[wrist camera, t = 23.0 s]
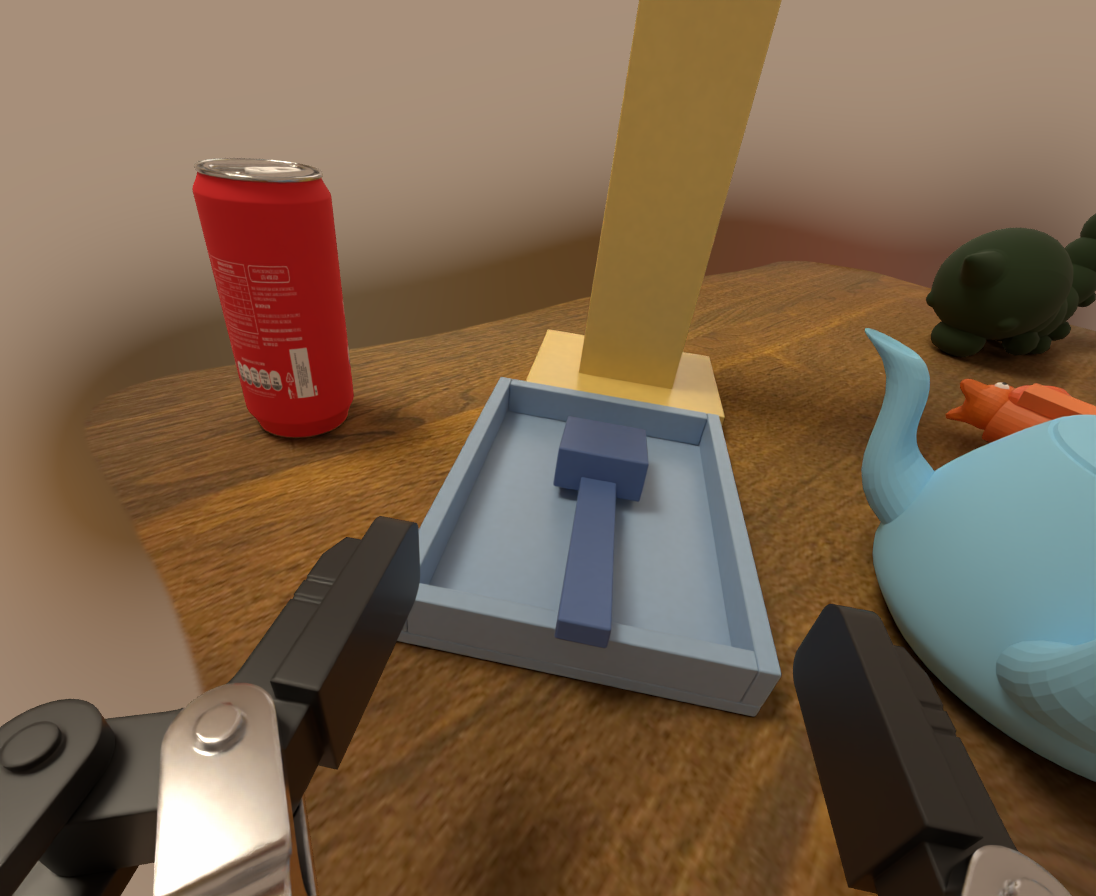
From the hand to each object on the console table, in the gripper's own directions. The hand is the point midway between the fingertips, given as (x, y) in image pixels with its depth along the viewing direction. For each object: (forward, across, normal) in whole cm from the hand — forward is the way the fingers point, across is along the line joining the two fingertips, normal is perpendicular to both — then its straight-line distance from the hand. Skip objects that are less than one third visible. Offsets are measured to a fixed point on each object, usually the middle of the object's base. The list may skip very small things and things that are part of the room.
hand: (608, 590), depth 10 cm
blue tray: (+11, 0, +8) cm, 13 cm away
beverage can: (+15, +16, +8) cm, 23 cm away
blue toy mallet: (+9, 0, +6) cm, 11 cm away
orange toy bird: (+22, -26, +8) cm, 35 cm away
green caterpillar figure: (+48, -37, +8) cm, 61 cm away
